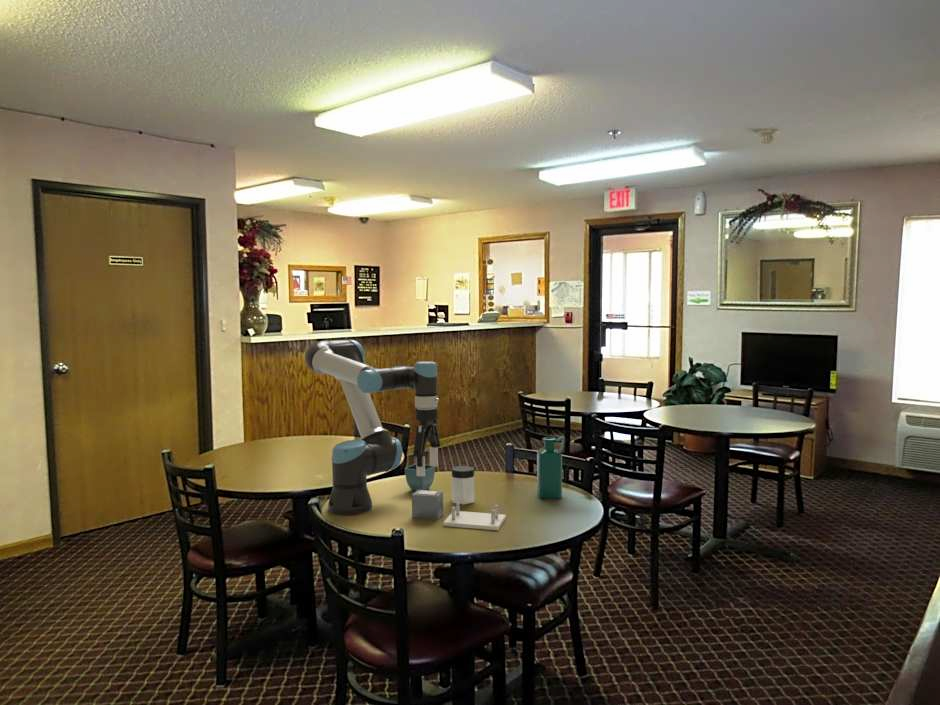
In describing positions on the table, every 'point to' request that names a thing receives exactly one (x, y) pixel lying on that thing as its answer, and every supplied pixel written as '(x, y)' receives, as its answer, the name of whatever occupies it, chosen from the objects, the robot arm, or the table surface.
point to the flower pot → (419, 477)
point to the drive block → (427, 504)
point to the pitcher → (550, 469)
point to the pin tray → (475, 519)
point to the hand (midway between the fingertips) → (427, 471)
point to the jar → (463, 484)
